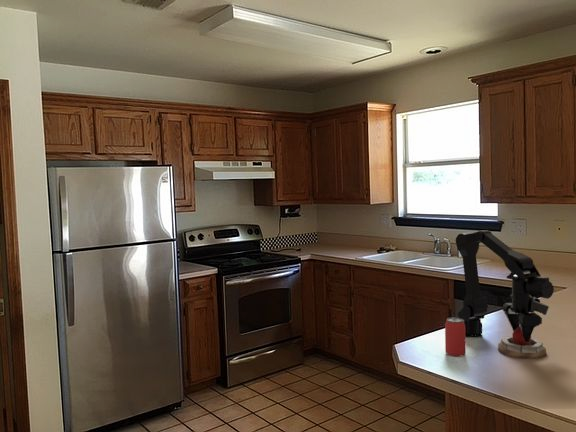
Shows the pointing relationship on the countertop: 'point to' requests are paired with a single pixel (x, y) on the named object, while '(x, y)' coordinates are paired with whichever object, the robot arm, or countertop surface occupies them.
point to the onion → (519, 337)
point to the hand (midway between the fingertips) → (521, 337)
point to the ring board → (522, 355)
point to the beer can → (455, 337)
